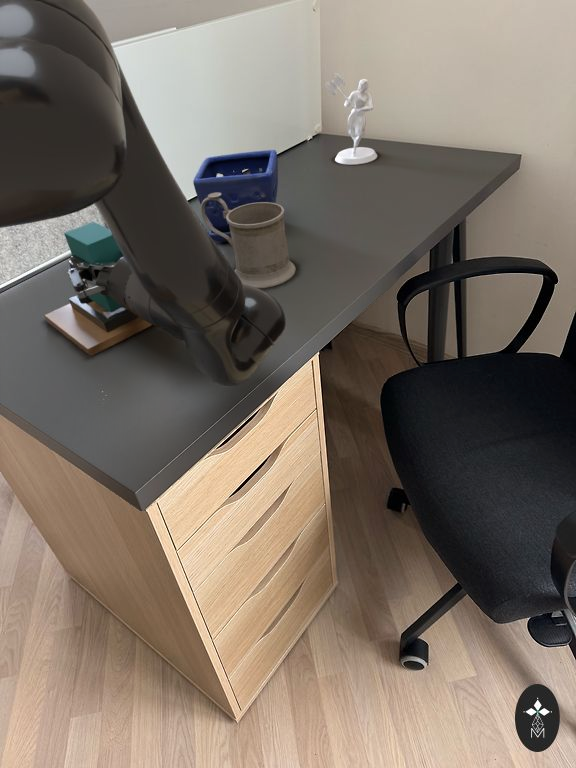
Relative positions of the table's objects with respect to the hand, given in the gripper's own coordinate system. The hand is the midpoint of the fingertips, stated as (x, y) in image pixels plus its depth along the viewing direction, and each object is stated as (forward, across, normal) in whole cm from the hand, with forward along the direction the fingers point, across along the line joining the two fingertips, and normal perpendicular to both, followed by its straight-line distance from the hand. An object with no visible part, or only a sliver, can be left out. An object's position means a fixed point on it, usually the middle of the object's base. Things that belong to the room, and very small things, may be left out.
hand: (90, 255), depth 80 cm
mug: (-9, -21, +9) cm, 24 cm away
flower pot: (+4, -30, +9) cm, 32 cm away
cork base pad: (-3, 0, +9) cm, 9 cm away
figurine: (+14, -71, +9) cm, 73 cm away
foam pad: (-3, 0, +6) cm, 7 cm away
